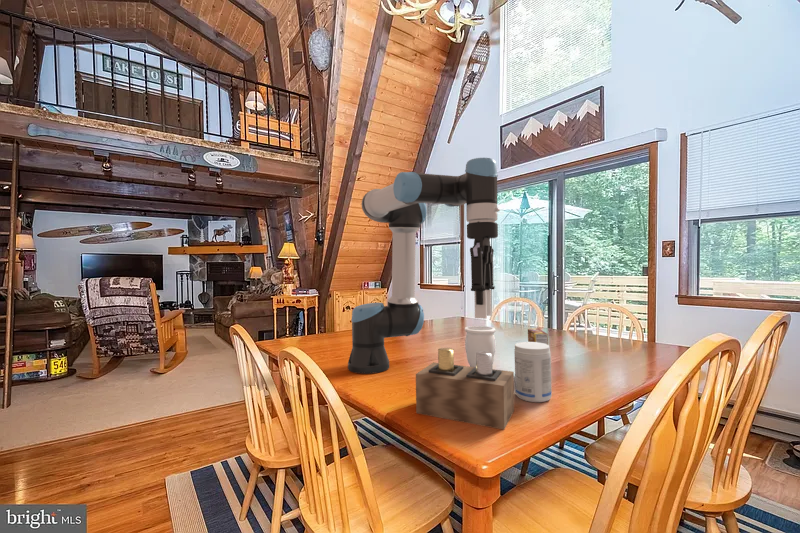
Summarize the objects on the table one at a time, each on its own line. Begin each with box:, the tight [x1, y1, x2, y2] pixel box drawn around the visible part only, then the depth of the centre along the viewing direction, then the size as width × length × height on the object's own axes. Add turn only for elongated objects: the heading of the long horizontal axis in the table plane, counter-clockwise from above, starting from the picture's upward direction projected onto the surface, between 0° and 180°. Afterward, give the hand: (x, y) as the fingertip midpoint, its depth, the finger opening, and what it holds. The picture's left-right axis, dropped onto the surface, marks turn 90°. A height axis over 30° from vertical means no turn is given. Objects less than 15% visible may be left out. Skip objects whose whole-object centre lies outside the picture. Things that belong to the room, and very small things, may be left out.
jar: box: [464, 325, 497, 367], centre depth 131 cm, size 11×10×15 cm
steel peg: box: [476, 351, 493, 377], centre depth 93 cm, size 4×4×10 cm
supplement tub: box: [513, 341, 552, 403], centre depth 105 cm, size 10×10×15 cm
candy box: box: [527, 328, 549, 345], centre depth 123 cm, size 9×4×15 cm, turn 177°
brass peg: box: [437, 347, 455, 372], centre depth 97 cm, size 4×4×10 cm
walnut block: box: [415, 362, 515, 430], centre depth 95 cm, size 22×12×11 cm, turn 63°
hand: (483, 316), depth 93 cm, fingers open, 4 cm apart
